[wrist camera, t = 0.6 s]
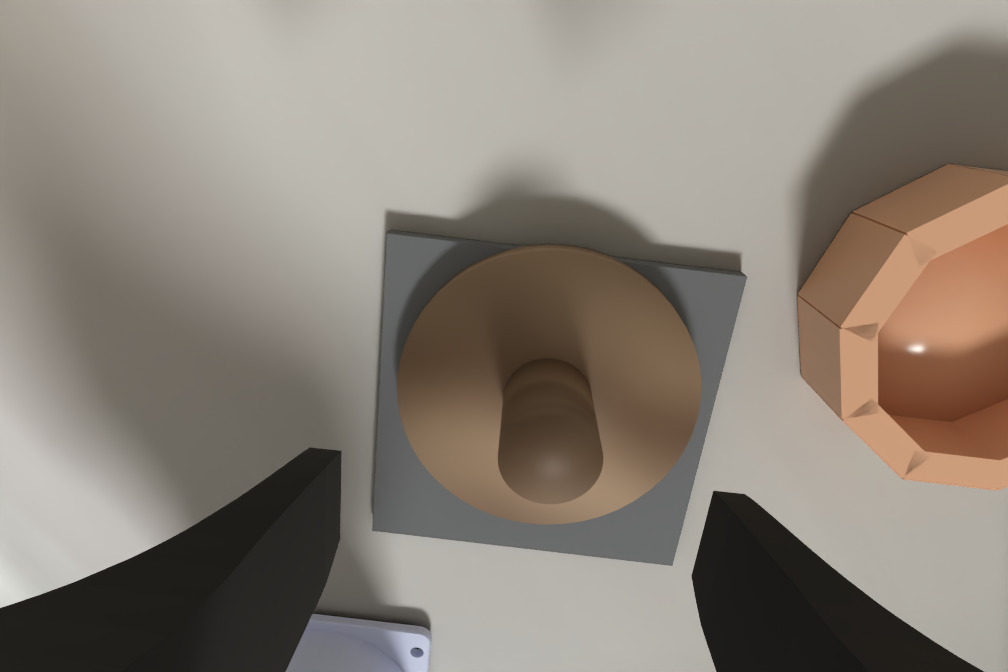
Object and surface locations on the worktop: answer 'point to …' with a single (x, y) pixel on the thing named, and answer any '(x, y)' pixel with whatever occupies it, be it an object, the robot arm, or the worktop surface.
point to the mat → (440, 514)
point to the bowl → (918, 327)
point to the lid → (549, 385)
